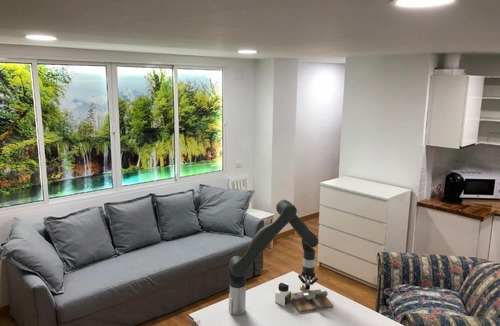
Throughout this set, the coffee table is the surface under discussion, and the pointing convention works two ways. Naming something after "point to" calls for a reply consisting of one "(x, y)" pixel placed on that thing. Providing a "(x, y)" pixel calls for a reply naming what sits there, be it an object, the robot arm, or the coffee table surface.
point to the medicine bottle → (283, 294)
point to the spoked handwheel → (310, 296)
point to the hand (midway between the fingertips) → (307, 289)
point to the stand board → (310, 303)
